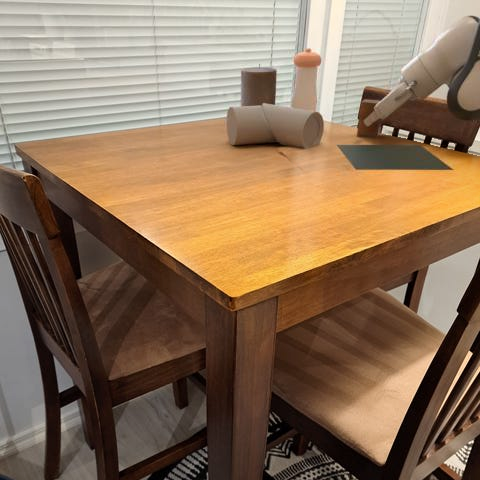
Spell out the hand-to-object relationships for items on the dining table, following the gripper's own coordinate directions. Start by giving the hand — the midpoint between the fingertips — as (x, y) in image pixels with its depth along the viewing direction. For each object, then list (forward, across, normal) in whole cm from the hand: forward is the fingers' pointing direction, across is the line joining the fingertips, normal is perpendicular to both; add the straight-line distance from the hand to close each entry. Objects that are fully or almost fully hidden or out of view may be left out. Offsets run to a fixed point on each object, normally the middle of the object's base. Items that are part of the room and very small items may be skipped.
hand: (368, 120), depth 122 cm
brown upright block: (+3, 0, -4) cm, 5 cm away
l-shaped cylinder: (+16, -16, +10) cm, 25 cm away
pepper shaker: (+16, +5, +10) cm, 20 cm away
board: (-3, -17, -9) cm, 20 cm away
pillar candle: (+26, +6, +19) cm, 33 cm away
